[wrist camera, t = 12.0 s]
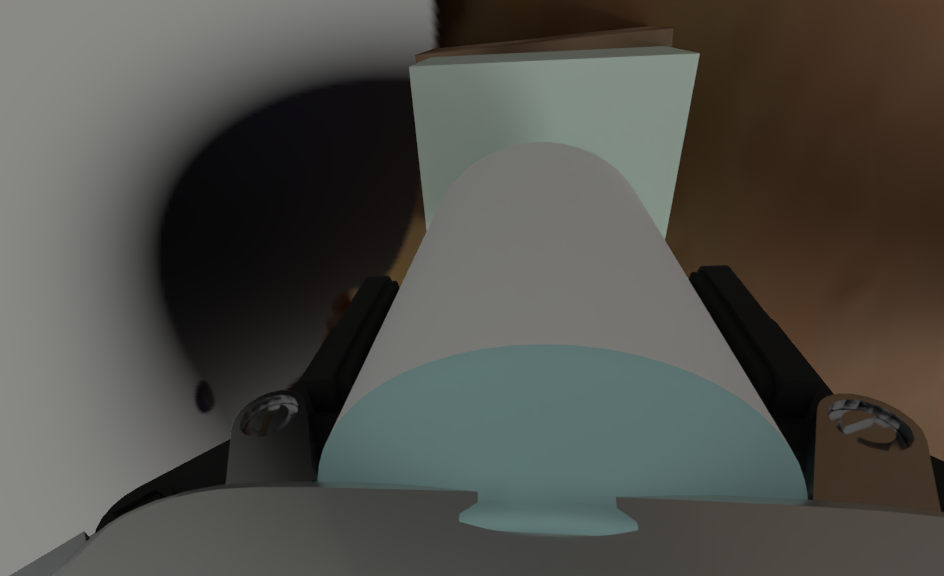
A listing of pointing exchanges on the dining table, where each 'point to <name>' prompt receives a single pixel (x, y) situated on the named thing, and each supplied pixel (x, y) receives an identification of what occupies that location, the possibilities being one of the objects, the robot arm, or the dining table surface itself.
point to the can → (554, 361)
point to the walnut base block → (564, 43)
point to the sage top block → (557, 113)
